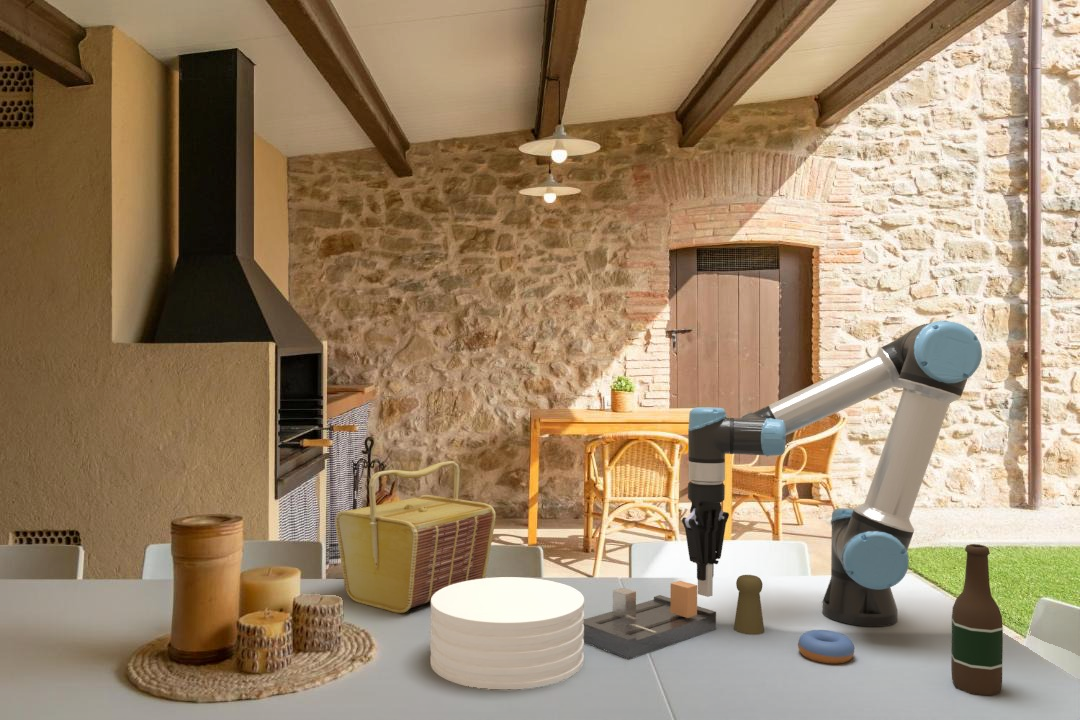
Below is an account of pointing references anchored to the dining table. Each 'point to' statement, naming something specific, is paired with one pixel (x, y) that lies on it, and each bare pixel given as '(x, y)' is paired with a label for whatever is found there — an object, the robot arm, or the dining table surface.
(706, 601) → the dining table surface
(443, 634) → the plate stack
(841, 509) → the robot arm
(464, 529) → the picnic basket
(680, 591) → the fader
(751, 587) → the cork
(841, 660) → the doughnut
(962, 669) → the beer bottle
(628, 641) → the slider panel
